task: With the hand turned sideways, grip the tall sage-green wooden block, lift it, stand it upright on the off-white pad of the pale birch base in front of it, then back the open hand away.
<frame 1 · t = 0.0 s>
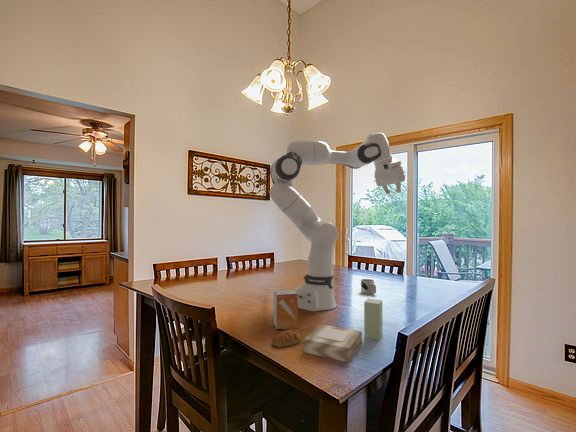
hand: (393, 193, 146), 52 cm above the table, tool tilted 20°, fingers open, 8 cm apart
sage block: (373, 336, 103), on the table
pastry: (287, 343, 98), on the table
mug: (369, 293, 159), on the table
small box: (285, 327, 112), on the table
base plinth: (333, 347, 94), on the table
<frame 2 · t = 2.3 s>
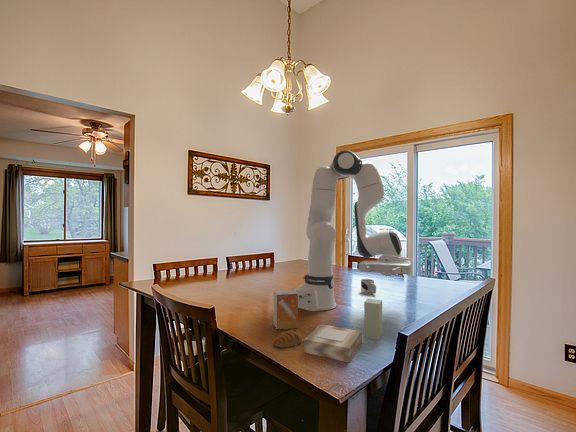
hand: (381, 270, 114), 20 cm above the table, tool horizontal, fingers open, 8 cm apart
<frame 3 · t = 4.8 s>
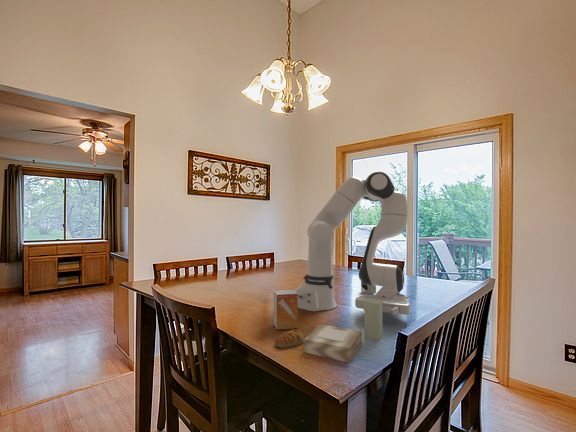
hand: (378, 310, 110), 7 cm above the table, tool horizontal, fingers open, 8 cm apart
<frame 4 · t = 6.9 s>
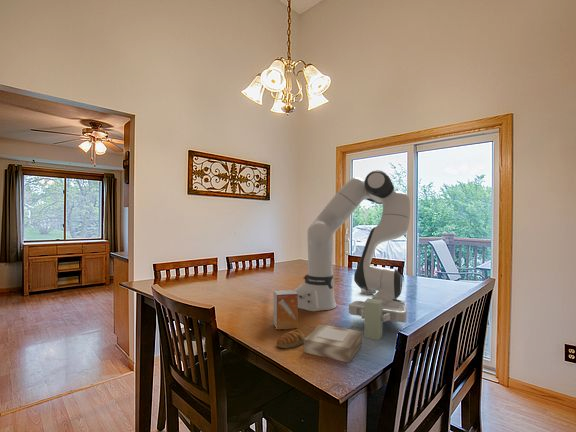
hand: (372, 317, 102), 7 cm above the table, tool horizontal, fingers closed on sage block, 5 cm apart
sage block: (373, 336, 103), on the table, touching gripper
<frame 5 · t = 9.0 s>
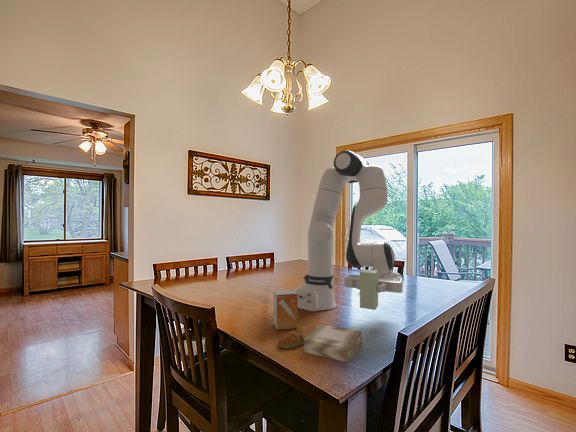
hand: (368, 288, 101), 17 cm above the table, tool horizontal, fingers closed on sage block, 5 cm apart
sage block: (369, 306, 102), point 10 cm above the table, touching gripper
when the fingers open (12 cm above the table, at t = 11.4 s): sage block drops 1 cm, resting on base plinth.
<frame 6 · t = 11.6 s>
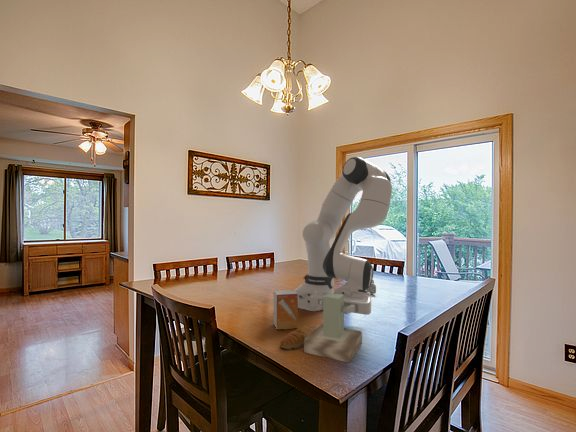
hand: (332, 309, 93), 12 cm above the table, tool horizontal, fingers open, 7 cm apart
sage block: (333, 334, 94), point 4 cm above the table, touching base plinth
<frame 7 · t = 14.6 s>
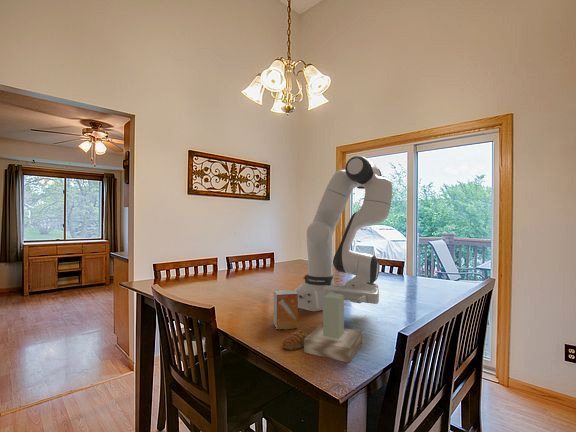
hand: (344, 299, 105), 12 cm above the table, tool horizontal, fingers open, 8 cm apart
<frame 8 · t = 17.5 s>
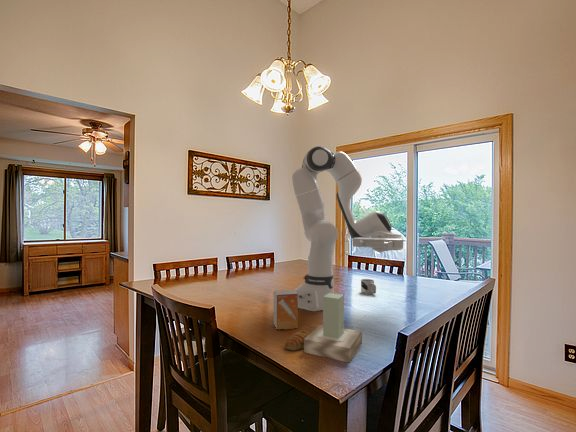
hand: (373, 244, 118), 30 cm above the table, tool horizontal, fingers open, 8 cm apart
at the end: sage block inside the target area on the base plinth (0.0 cm from its centre), point 4.3 cm above the base plinth's base; sage block tilted 0°; the gripper is holding nothing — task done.
